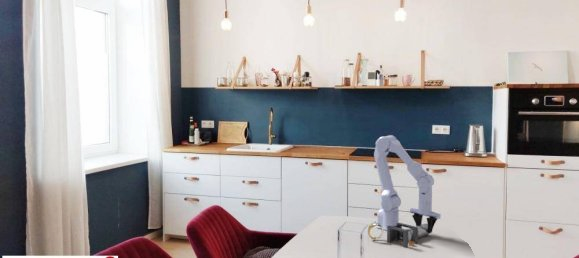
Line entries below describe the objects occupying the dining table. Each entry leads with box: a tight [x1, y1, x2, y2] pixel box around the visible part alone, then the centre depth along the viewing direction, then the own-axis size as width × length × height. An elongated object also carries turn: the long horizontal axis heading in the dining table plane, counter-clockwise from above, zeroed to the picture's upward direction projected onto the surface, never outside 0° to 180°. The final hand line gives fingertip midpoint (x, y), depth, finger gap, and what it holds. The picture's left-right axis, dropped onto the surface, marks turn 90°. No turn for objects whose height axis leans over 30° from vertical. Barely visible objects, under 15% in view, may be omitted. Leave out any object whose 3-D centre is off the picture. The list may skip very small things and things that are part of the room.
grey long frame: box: [401, 223, 431, 242], centre depth 211 cm, size 16×5×5 cm, turn 132°
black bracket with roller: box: [386, 222, 419, 248], centre depth 204 cm, size 10×8×7 cm
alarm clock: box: [367, 221, 384, 241], centre depth 208 cm, size 7×3×8 cm, turn 91°
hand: (424, 231), depth 215 cm, fingers closed on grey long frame, 5 cm apart
